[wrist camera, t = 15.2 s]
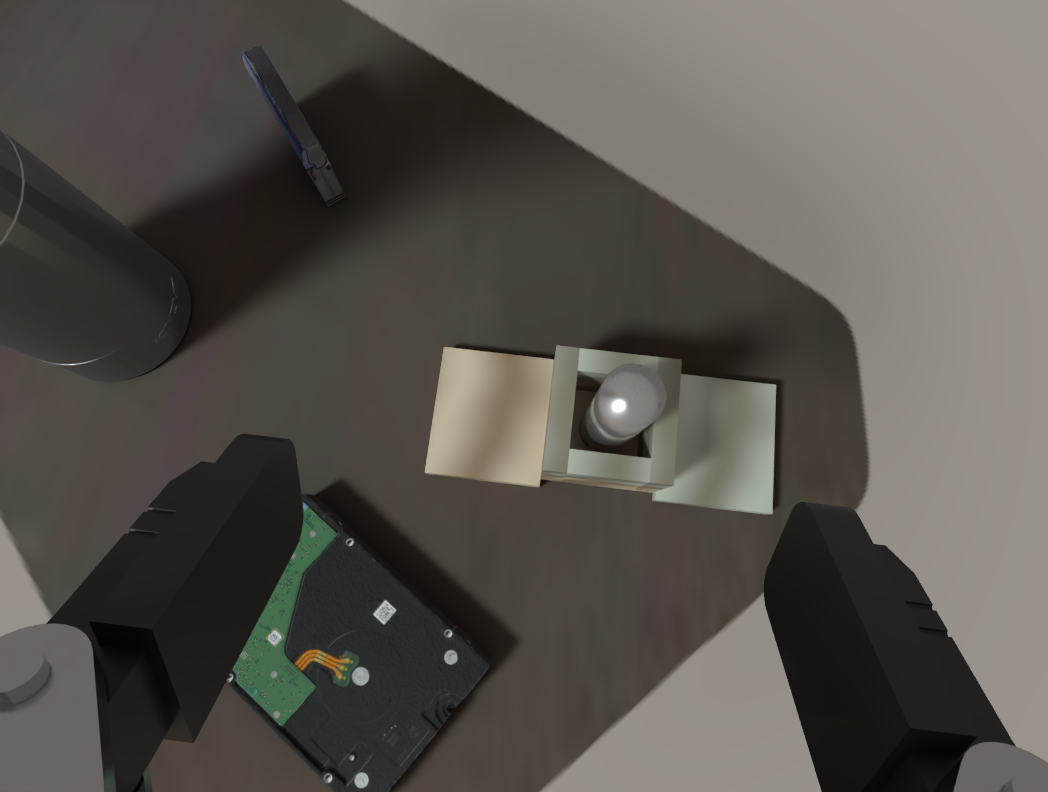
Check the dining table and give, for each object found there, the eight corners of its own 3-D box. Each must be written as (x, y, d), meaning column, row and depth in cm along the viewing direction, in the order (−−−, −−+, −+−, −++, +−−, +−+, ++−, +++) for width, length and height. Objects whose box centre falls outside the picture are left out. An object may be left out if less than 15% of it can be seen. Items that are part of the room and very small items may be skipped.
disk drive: (495, 653, 37) (314, 492, 39) (494, 662, 34) (299, 488, 36) (377, 803, 35) (193, 626, 37) (365, 826, 32) (167, 634, 34)
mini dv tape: (275, 118, 44) (237, 54, 38) (294, 108, 45) (259, 43, 39) (328, 207, 43) (297, 155, 37) (347, 197, 43) (319, 143, 37)
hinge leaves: (427, 474, 39) (411, 463, 33) (445, 351, 40) (434, 322, 35) (766, 514, 38) (805, 510, 33) (769, 388, 40) (808, 365, 35)
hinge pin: (576, 449, 38) (597, 422, 28) (582, 401, 39) (604, 359, 29) (625, 456, 38) (663, 431, 28) (630, 408, 39) (668, 367, 29)
